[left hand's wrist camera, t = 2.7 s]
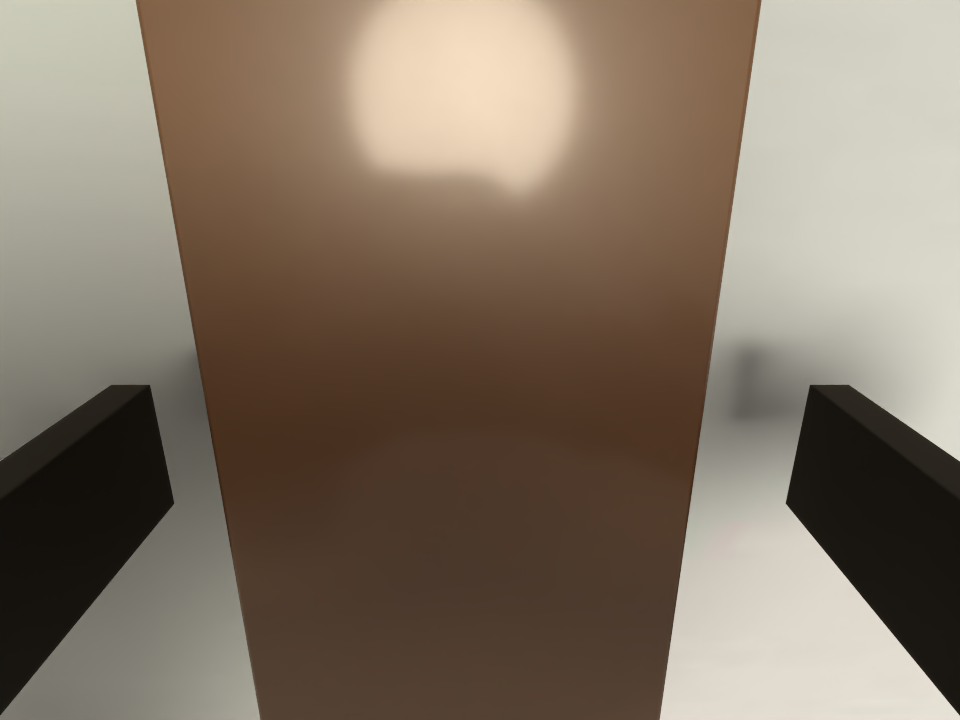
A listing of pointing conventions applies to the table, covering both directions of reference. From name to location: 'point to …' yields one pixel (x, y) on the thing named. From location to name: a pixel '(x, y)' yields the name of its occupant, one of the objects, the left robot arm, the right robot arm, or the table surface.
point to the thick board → (453, 333)
